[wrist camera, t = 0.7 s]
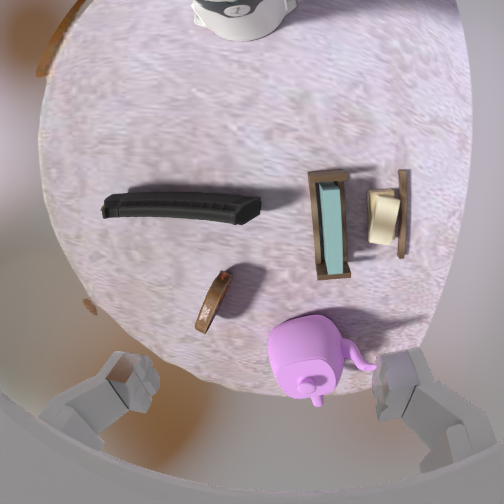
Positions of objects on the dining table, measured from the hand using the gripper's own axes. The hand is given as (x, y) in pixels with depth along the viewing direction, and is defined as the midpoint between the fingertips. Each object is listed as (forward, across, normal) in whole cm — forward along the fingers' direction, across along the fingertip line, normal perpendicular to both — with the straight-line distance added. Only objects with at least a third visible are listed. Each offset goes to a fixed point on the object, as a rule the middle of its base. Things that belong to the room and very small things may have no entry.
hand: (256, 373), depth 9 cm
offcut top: (+40, -16, +8) cm, 44 cm away
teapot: (+42, -2, +36) cm, 55 cm away
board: (+42, -6, +8) cm, 43 cm away
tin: (+42, +17, +22) cm, 50 cm away
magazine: (+42, +20, +1) cm, 47 cm away
